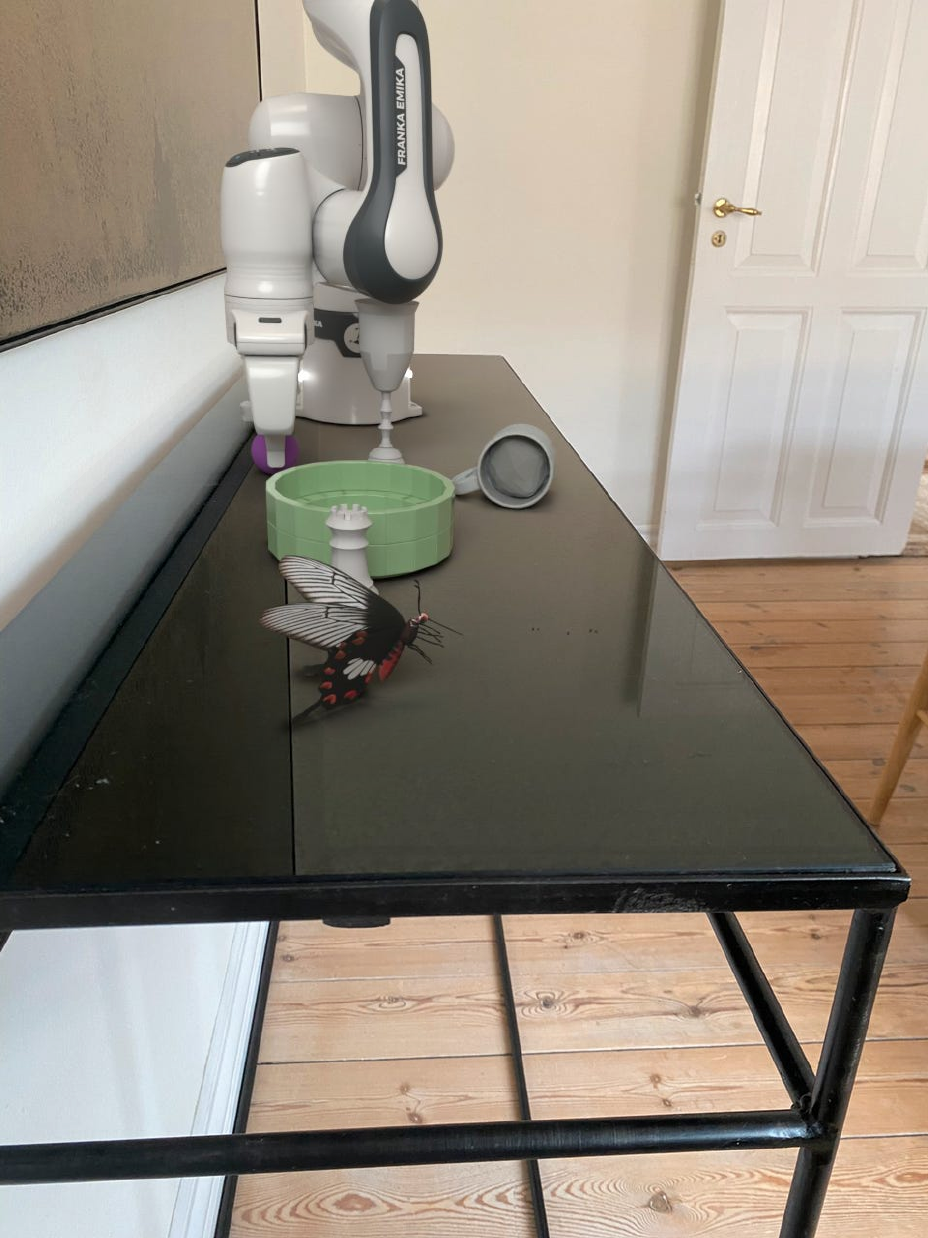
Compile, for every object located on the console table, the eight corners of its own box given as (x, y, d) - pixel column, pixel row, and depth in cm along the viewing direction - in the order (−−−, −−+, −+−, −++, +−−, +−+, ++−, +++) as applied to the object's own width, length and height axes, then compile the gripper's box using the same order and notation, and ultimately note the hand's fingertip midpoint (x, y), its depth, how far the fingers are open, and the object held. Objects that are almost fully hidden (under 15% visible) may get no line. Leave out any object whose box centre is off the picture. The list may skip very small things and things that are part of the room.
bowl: (268, 524, 86) (266, 460, 83) (436, 521, 88) (438, 459, 86) (268, 589, 72) (265, 514, 69) (467, 582, 75) (470, 511, 72)
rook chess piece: (354, 632, 65) (354, 523, 62) (306, 616, 67) (302, 510, 64) (392, 611, 69) (393, 507, 65) (344, 596, 71) (343, 495, 68)
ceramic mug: (554, 489, 100) (559, 417, 97) (551, 511, 92) (556, 434, 89) (456, 483, 101) (458, 412, 98) (445, 505, 94) (446, 429, 90)
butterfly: (311, 777, 56) (187, 667, 52) (355, 685, 62) (247, 582, 59) (441, 712, 50) (310, 583, 47) (475, 618, 56) (363, 498, 53)
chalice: (406, 481, 100) (409, 306, 93) (346, 475, 101) (344, 302, 94) (422, 465, 107) (427, 300, 99) (366, 459, 108) (366, 296, 101)
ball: (252, 467, 103) (250, 423, 101) (298, 467, 104) (297, 422, 102) (252, 481, 98) (249, 434, 96) (300, 480, 99) (298, 434, 97)
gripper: (241, 312, 103) (248, 435, 109) (235, 338, 85) (243, 484, 91) (299, 313, 104) (302, 435, 110) (305, 339, 86) (309, 484, 92)
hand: (276, 458), depth 100 cm, fingers closed on ball, 5 cm apart
